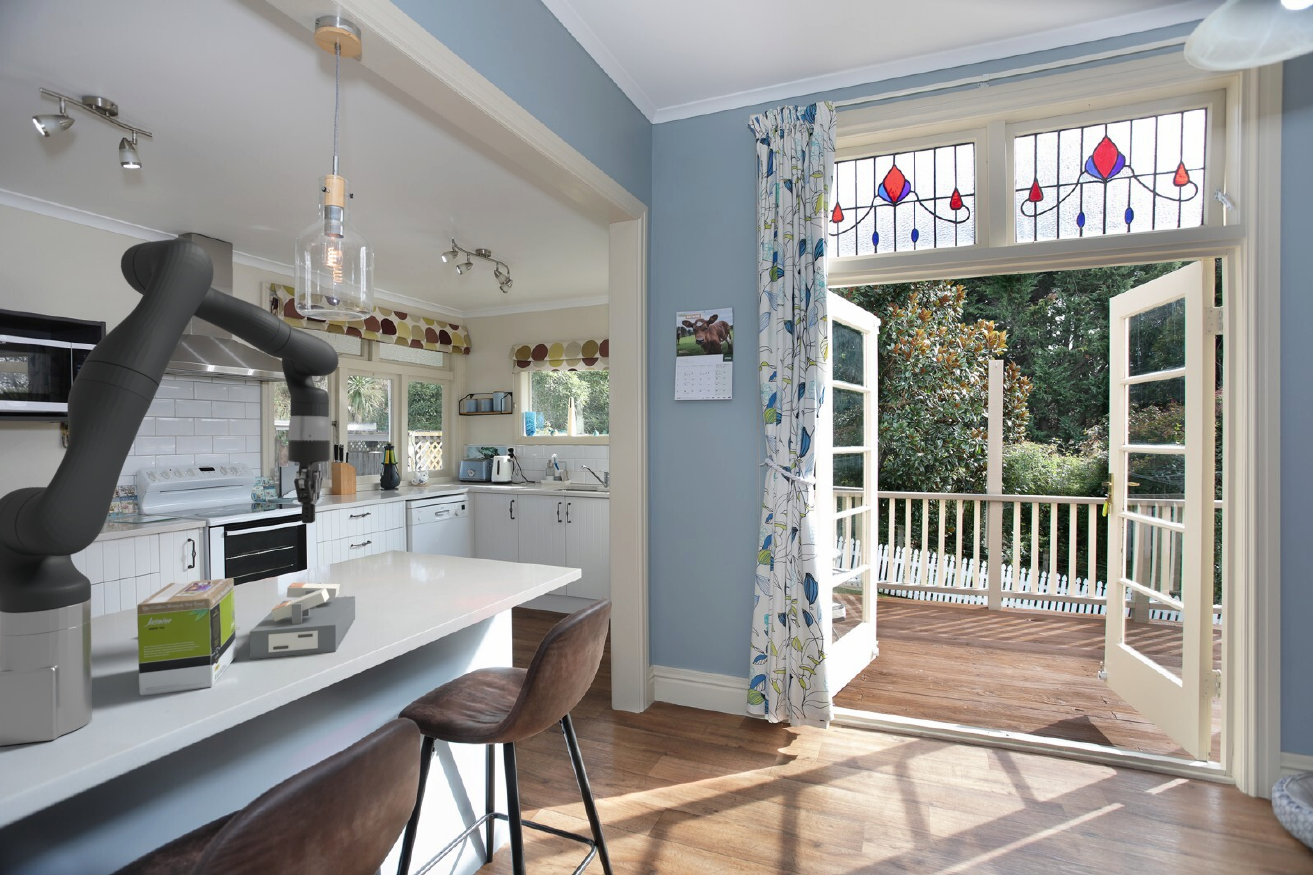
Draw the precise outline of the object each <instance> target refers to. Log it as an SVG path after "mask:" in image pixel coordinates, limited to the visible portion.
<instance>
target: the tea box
mask: <svg viewBox="0 0 1313 875" xmlns="http://www.w3.org/2000/svg"><path fill="white" fill-rule="evenodd" d="M136 619H137V622H136V623H137V647H138V648H137V649H138V655H137V656H138V687H139V689H138V690H139V695H140V696H141V697H142V696H150V695H158V694H160V695H161V694H168V693H173V692H183V691H191V690H192V691H193V690H198V689H205V688H211V687H213V686H214V684H215V683H216V682H217V680H219V679H220V677H221V675H222V674H223V673H224V672H225V670H226V669H227V668H228V667H229V665H230V664H231V663H232V662H233V660H234V659H235V658H236V656H237V640H236V637H237V636H236V630H235V627H236V610H235V580H234V578H233V577H230V578H220V579H218V578H217V579H206V580H205V579H204V580H193V581H183V582H170V583H169V584H167V585H166V586H165V587H162V588H161V589H160V590H158V591H156V592H155V593H154V594H152V595H150V596H149V597H148V598H146V599H144V600H143V601H142V602H139V603H138V604H137V617H136Z"/></svg>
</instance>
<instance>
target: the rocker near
mask: <svg viewBox="0 0 1313 875" xmlns="http://www.w3.org/2000/svg"><path fill="white" fill-rule="evenodd" d="M328 598H329V595H328V592H327V590H326V588H323V589H321V590H318V591H315V592H313V593H310V594H308V595H305V596H302V597H300V598H295V599H292V601H290V600H286V601H287V602H285V603H282V602H281V603H282V604H281V603H279V604H280V605H279V604H277V605H275V607H274V608H272V609H271V611H270V613H272V616H273V618H274V621H277V620H280V619H283V618H285V617H288V616H290V615H292V604H296V603H302V611H303V610H306V609H309V608H311V607H314V606H316V605H319V604H322V603H324V602H326V600H327V599H328Z"/></svg>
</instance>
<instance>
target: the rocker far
mask: <svg viewBox="0 0 1313 875" xmlns="http://www.w3.org/2000/svg"><path fill="white" fill-rule="evenodd" d="M340 585H341V584H340V583H339V584H338V583H321V584H315V583H306V582H292V583H290V585H288V586H287V588H286V590H287V592H286V598H292V599H293V598H295V599H297V598H300V596H305V595H306V590H315V591H318V590H321V589H323V588H326V590H327V592H328V595H329V598H336V597H338V596H339V594H340Z"/></svg>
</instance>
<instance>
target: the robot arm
mask: <svg viewBox="0 0 1313 875" xmlns="http://www.w3.org/2000/svg"><path fill="white" fill-rule="evenodd" d="M120 270H121V274H122V275H123V278H124V280H125V281H126V282H127V283H128V285H130V287H131V288H132V289H133V290H134V291H135V292H137V293H139V294H141V295H142V297H141V299H140V300H139V302H138V303H137V305H136V306H135V307H134V308H133V309H132V311H131V312H130V313H129V314H128V315H127V316H126V317H124V319H123V320H122V321H120V323H118V324H117V325H116V326H115V327H114V328H112V330H111V331H109V333H107V334H106V335H105V336H104V337H103V338H102V339H101V340H100V341H99V342H98V343H97V344H96V345H95V346H94V347H93V348H92V349H91V351H90V352H89V353H88V355H87V357H86V358H85V359H84V361H83V363H82V365H81V367H80V369H79V371H78V373H77V374H76V377H75V378H74V381H73V383H72V386H71V387H70V390H69V393H68V398H67V421H68V424H67V425H68V442H67V447H66V450H65V453H64V456H63V458H62V459H61V462H60V464H59V466H58V467H57V469H56V471H55V473H54V475H53V477H52V479H51V481H50V482H49V484H48V485H47V486H45V487H43V486H33V487H32V486H30V487H29V486H28V487H23V488H22V487H21V488H19V489H15V490H12V491H10V492H8V493H6V494H5V495H3V496H2V497H1V498H0V746H9V745H10V746H11V745H19V744H29V743H36V742H44V741H53V740H57V738H59V737H60V736H63V735H66V734H69V733H71V732H73V731H75V730H78V729H80V728H82V727H84V726H86V725H87V724H88V723H90V721H92V717H93V716H92V713H93V712H92V711H93V708H92V707H93V706H92V705H93V704H92V703H93V702H92V700H93V698H92V697H93V696H92V695H93V691H92V690H93V689H92V688H93V686H92V682H93V681H92V673H93V672H92V584H91V581H90V579H89V578H88V577H87V576H86V575H84V574H83V573H82V572H81V571H80V570H78V569H77V567H76V566H75V564H74V563H73V560H72V555H74V554H78V553H79V552H82V551H83V550H86V548H87V547H89V546H90V545H92V543H93V542H95V540H96V539H97V538H98V537H99V535H100V533H101V532H102V530H103V529H104V528H103V527H104V525H105V523H106V520H107V517H108V515H109V512H110V508H111V505H112V502H113V499H114V495H115V492H116V488H117V485H118V482H119V479H120V476H121V473H122V470H123V468H124V465H125V462H126V460H127V458H128V455H129V453H130V451H131V448H132V446H133V444H134V441H135V440H136V437H137V434H138V431H139V429H140V428H141V425H142V423H143V421H144V419H145V417H146V415H147V412H148V411H149V409H150V407H151V404H152V402H153V400H154V399H155V396H156V393H157V392H158V390H159V387H160V384H161V382H162V379H163V376H164V374H165V372H166V370H167V368H168V365H169V364H170V362H171V359H172V357H173V355H174V352H175V351H176V349H177V347H178V345H179V343H180V340H181V339H182V336H183V333H184V332H185V330H186V328H187V326H188V325H189V323H190V321H191V319H192V318H193V317H196V318H198V319H200V320H203V321H205V322H207V323H210V324H211V325H213V326H215V327H218V328H219V329H222V330H224V331H226V332H227V333H230V334H231V335H233V336H235V337H237V338H238V339H241V340H242V341H244V342H246V343H247V344H249V345H250V346H252V347H254V348H256V349H258V350H259V351H261V352H263V353H264V354H266V355H268V356H271V357H274V358H276V359H277V358H278V359H281V368H282V370H283V375H284V378H285V382H286V386H287V391H288V392H289V396H290V397H289V398H290V407H289V408H290V409H289V410H290V412H289V413H290V414H289V415H290V417H289V424H288V444H287V445H288V447H287V448H288V456H287V459H288V462H291V463H299V465H298V470H297V471H296V472H295V478H294V480H293V483H294V486H295V492H296V497H297V502H298V503H300V505H301V523H302V524H312V523H313V524H314V522H315V521H316V505H317V503H318V501H319V500H320V494H321V488H322V484H323V483H322V482H323V479H324V478H323V475H322V474H323V473H322V470H320V464H319V463H327V462H329V461H330V457H331V456H330V455H331V452H330V451H331V450H330V449H331V448H330V447H331V443H330V442H331V426H330V417H329V414H330V409H329V408H330V407H329V406H330V403H329V402H330V397H329V393H328V391H327V390H325V389H324V388H323V389H322V388H319V387H316V386H315V382H314V380H313V377H324V376H328V375H330V374H333V373H334V372H335V371H336V370H337V369H338V366H339V356H338V353H337V352H336V350H335V348H334V347H333V346H332V345H331V344H330V343H329V342H328V341H326V340H324V339H322V338H320V337H318V336H316V335H313V334H310V333H308V332H305V331H303V330H300V329H297V328H294V327H293V326H291V325H290V324H289V323H287V322H286V321H285V320H283V319H281V318H280V317H278V316H277V315H275V314H273V313H272V312H270V311H269V310H267V309H265V308H262V307H261V306H258V305H257V304H254V303H252V302H248V301H246V300H244V299H241V298H238V297H235V296H232V295H230V294H228V293H226V292H222V291H220V290H218V289H216V288H214V287H212V283H213V280H214V263H213V261H212V258H211V256H210V254H209V253H208V251H207V250H206V249H205V248H204V247H203V246H201V244H198V243H197V242H195V241H191V240H188V239H163V240H162V239H161V240H155V241H147V242H142V243H138V244H134V245H132V246H131V247H129V248H128V249H126V250H125V251H124V253H123V254H122V256H121V259H120Z"/></svg>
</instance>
